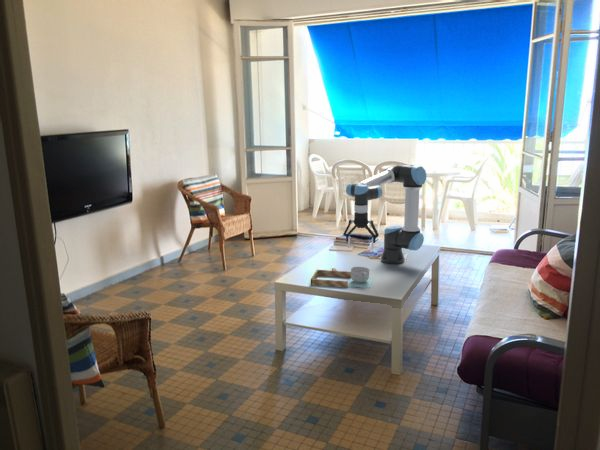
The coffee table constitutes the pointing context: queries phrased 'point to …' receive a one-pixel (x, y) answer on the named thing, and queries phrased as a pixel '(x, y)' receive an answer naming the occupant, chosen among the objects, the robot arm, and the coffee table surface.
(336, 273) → the cubby
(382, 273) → the coffee table surface
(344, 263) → the coffee table surface
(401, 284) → the coffee table surface
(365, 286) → the mat
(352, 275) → the teacup
